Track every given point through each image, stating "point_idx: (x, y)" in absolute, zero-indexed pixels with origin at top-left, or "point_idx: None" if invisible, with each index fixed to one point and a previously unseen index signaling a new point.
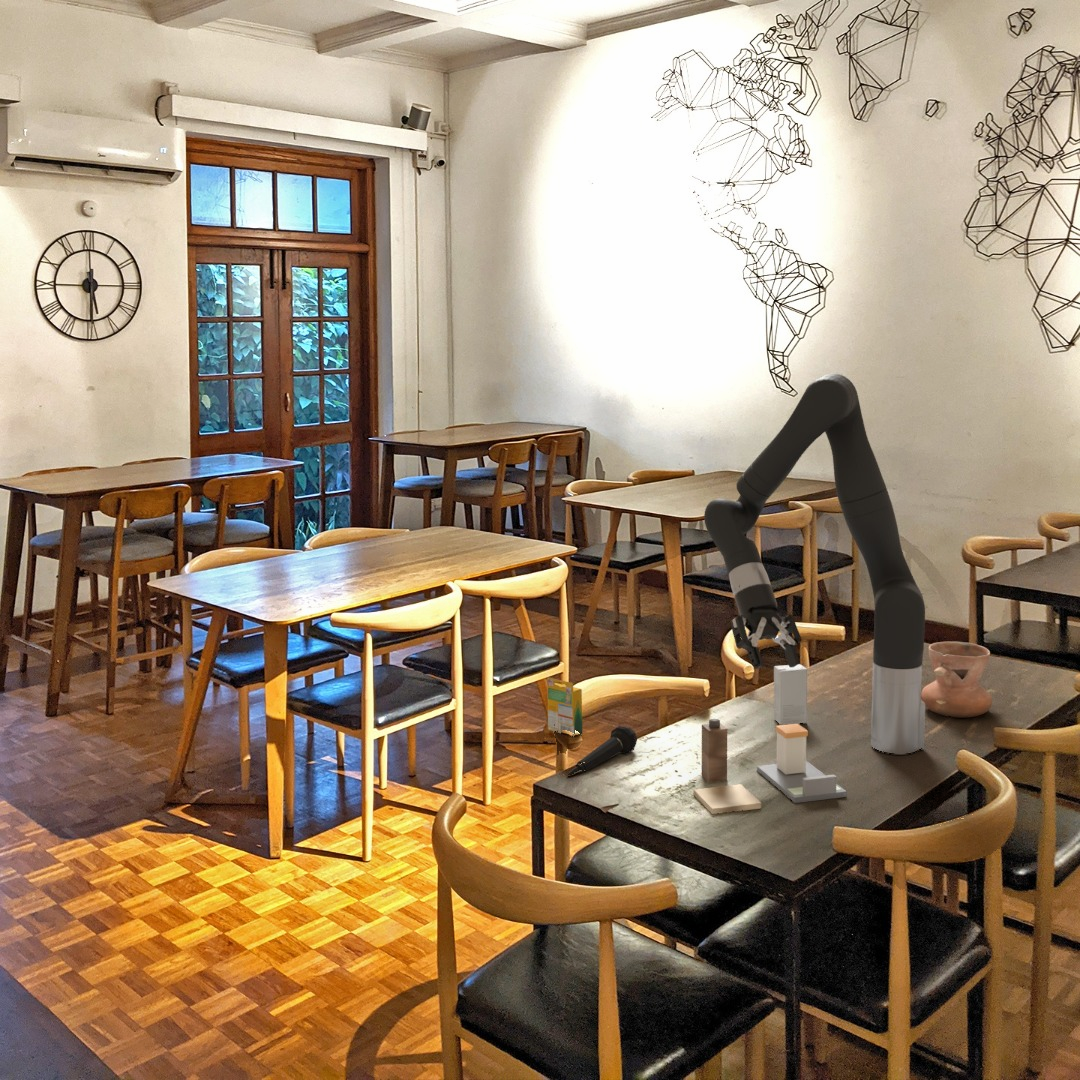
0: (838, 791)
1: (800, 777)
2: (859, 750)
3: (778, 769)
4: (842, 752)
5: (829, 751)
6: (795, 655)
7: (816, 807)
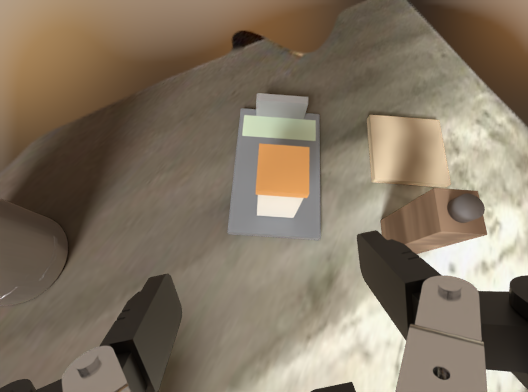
0: (251, 111)
1: None
2: (93, 267)
3: None
4: (129, 269)
5: None
6: (142, 298)
7: None
